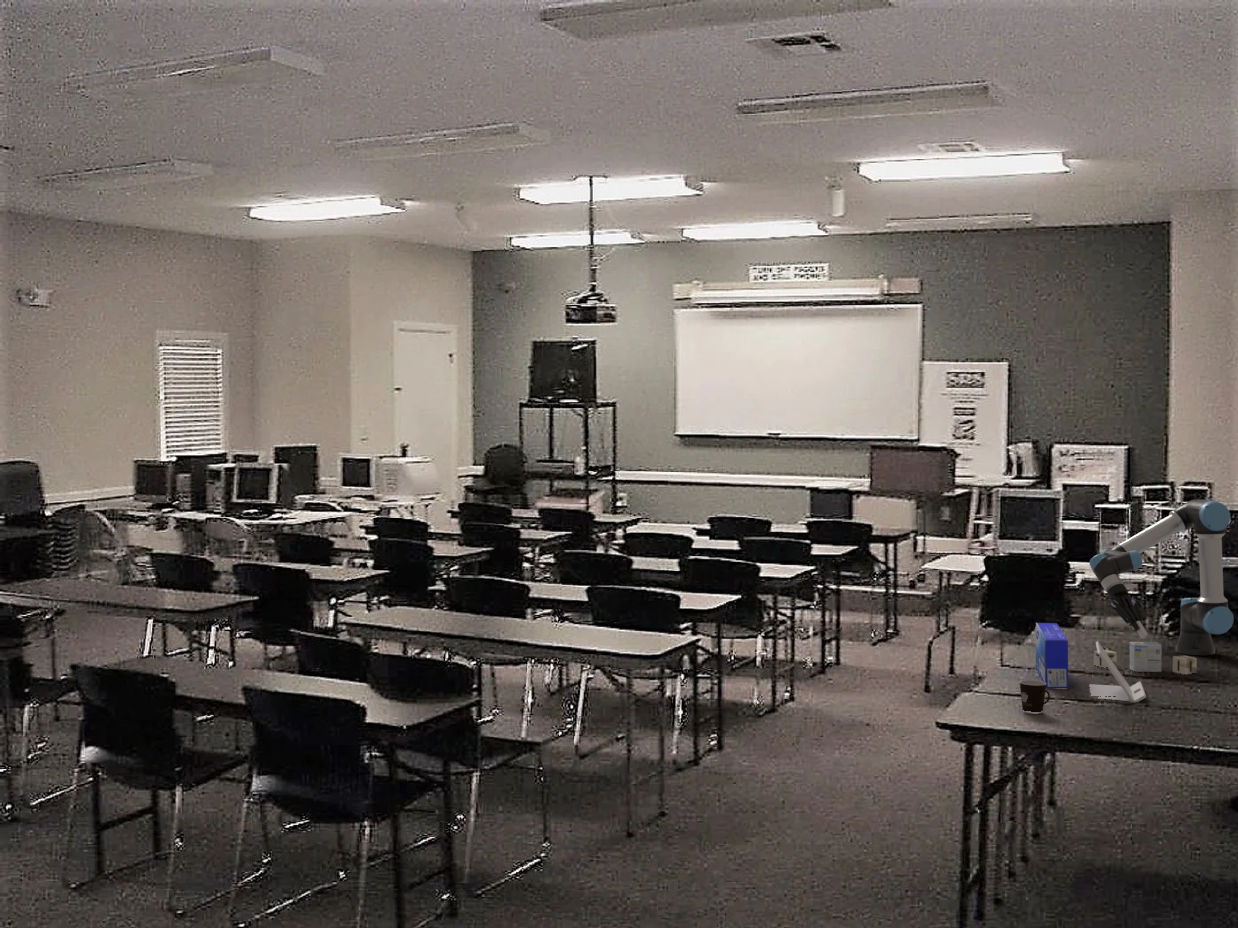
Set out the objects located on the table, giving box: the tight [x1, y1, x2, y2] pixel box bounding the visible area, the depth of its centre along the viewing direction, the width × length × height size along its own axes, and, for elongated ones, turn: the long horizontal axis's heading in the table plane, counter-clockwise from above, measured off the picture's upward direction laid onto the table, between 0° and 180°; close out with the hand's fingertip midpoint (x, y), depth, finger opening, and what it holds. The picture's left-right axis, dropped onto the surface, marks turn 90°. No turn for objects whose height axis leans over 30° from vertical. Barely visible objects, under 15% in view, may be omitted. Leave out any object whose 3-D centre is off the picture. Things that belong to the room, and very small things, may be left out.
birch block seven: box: [1093, 649, 1117, 669], centre depth 532 cm, size 6×6×6 cm
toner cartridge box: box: [1035, 622, 1069, 689], centre depth 507 cm, size 39×8×18 cm, turn 168°
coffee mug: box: [1019, 679, 1051, 712], centre depth 449 cm, size 12×9×10 cm
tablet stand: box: [1088, 640, 1147, 703], centre depth 480 cm, size 18×25×17 cm
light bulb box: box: [1129, 641, 1162, 673], centre depth 524 cm, size 11×7×11 cm, turn 85°
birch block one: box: [1172, 655, 1198, 675], centre depth 520 cm, size 6×6×6 cm
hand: (1144, 636), depth 524 cm, fingers closed
